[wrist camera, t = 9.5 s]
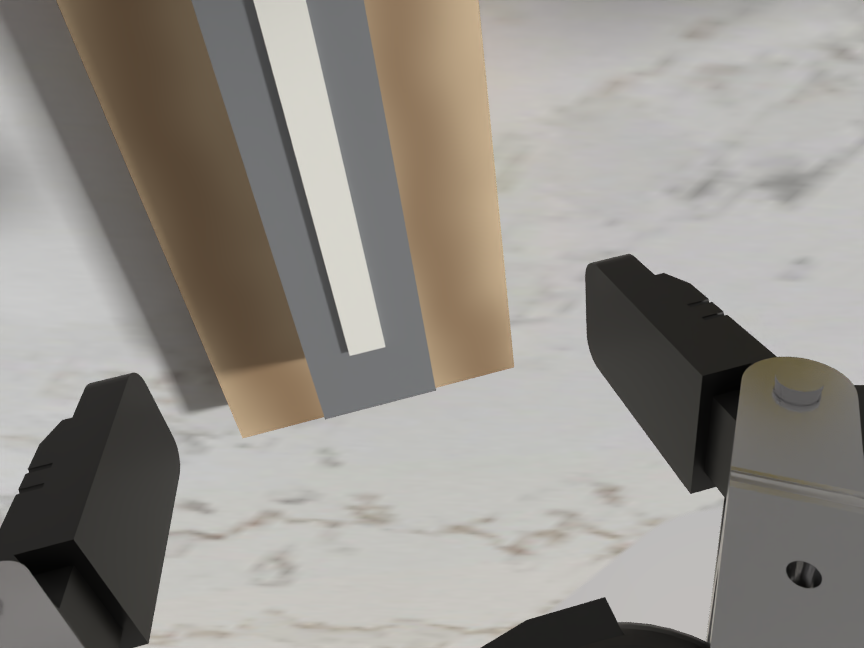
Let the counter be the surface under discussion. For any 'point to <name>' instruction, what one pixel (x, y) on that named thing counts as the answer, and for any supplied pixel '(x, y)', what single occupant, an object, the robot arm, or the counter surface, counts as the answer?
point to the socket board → (237, 210)
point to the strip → (324, 189)
